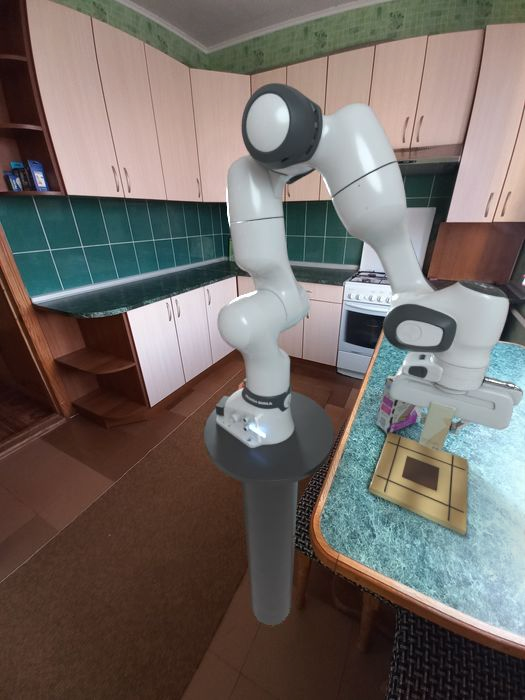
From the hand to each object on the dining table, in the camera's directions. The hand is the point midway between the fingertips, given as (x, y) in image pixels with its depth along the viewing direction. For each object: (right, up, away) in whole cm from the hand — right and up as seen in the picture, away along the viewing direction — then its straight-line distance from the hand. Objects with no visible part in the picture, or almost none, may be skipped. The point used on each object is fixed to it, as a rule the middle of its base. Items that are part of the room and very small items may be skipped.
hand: (436, 426), depth 60 cm
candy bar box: (+2, -6, +23) cm, 24 cm away
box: (0, -4, +2) cm, 4 cm away
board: (0, -14, +7) cm, 15 cm away
